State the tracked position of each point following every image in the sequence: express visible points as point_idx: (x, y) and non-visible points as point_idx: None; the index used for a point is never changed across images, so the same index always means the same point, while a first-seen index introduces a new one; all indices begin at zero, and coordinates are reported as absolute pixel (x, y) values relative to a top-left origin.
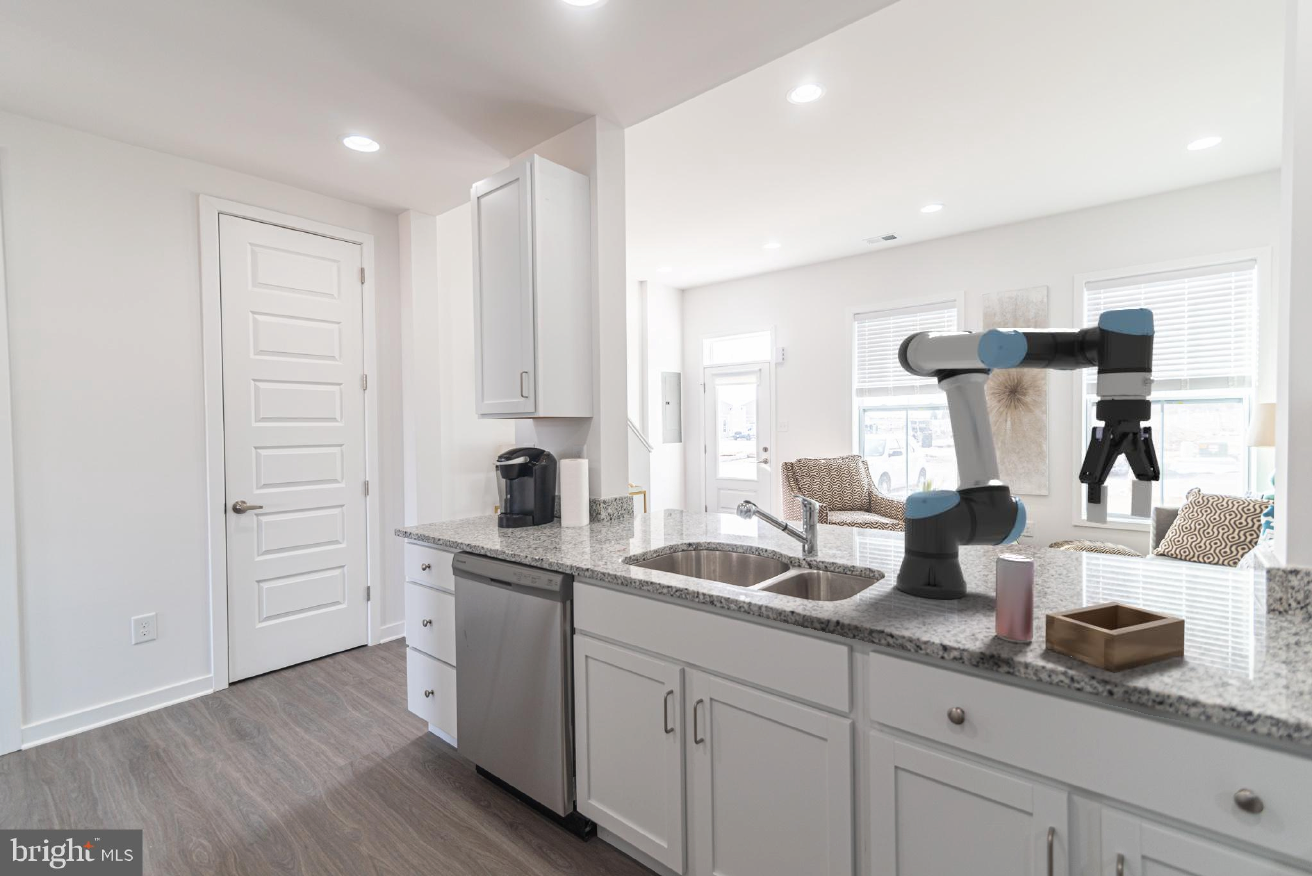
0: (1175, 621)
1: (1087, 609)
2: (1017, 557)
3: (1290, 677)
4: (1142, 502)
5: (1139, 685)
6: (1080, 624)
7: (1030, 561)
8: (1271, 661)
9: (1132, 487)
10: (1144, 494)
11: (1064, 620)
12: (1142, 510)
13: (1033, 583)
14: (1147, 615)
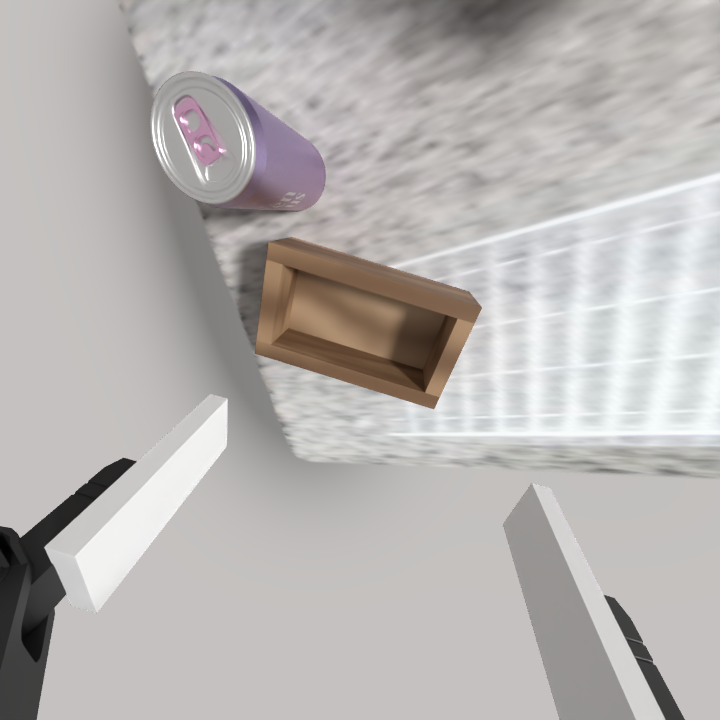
0: (409, 401)
1: (372, 287)
2: (214, 146)
3: (430, 460)
4: (536, 575)
5: (261, 359)
6: (261, 305)
7: (206, 202)
8: (483, 449)
9: (599, 648)
10: (549, 631)
11: (264, 278)
12: (521, 537)
13: (253, 208)
14: (436, 362)
